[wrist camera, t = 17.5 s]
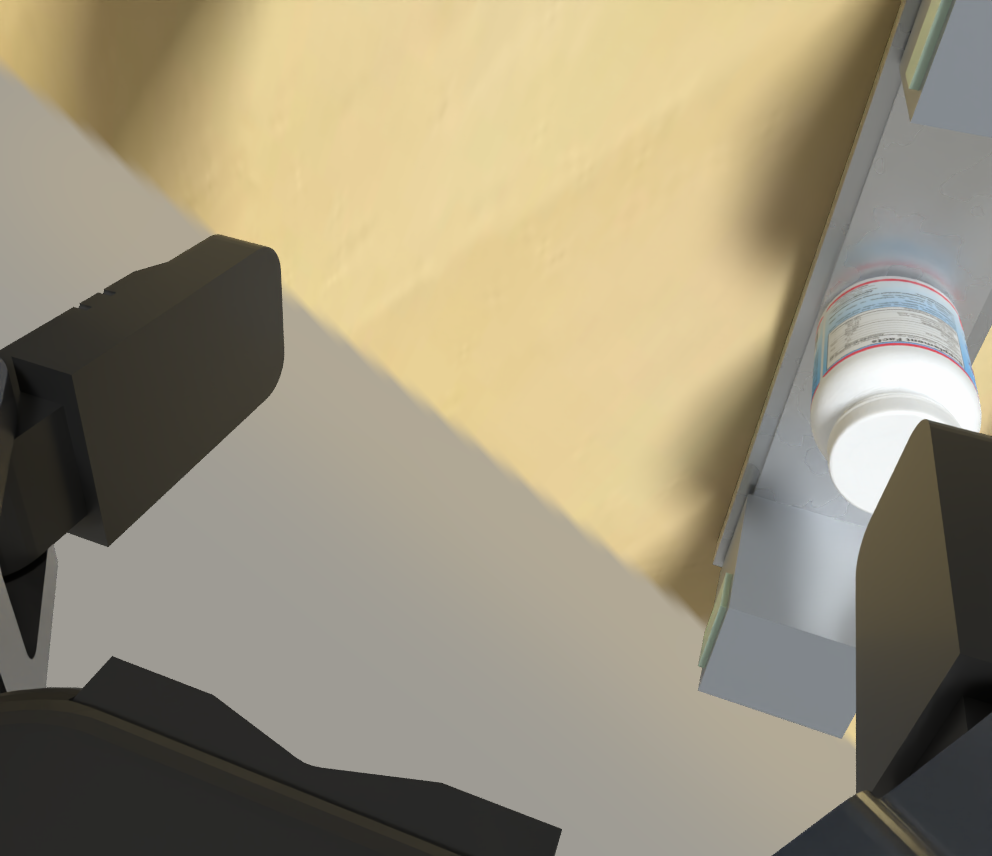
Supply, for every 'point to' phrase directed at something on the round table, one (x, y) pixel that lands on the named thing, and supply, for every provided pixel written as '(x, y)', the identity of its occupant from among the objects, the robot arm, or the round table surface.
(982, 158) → the rail
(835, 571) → the modules
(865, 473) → the pill bottle
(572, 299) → the round table surface
